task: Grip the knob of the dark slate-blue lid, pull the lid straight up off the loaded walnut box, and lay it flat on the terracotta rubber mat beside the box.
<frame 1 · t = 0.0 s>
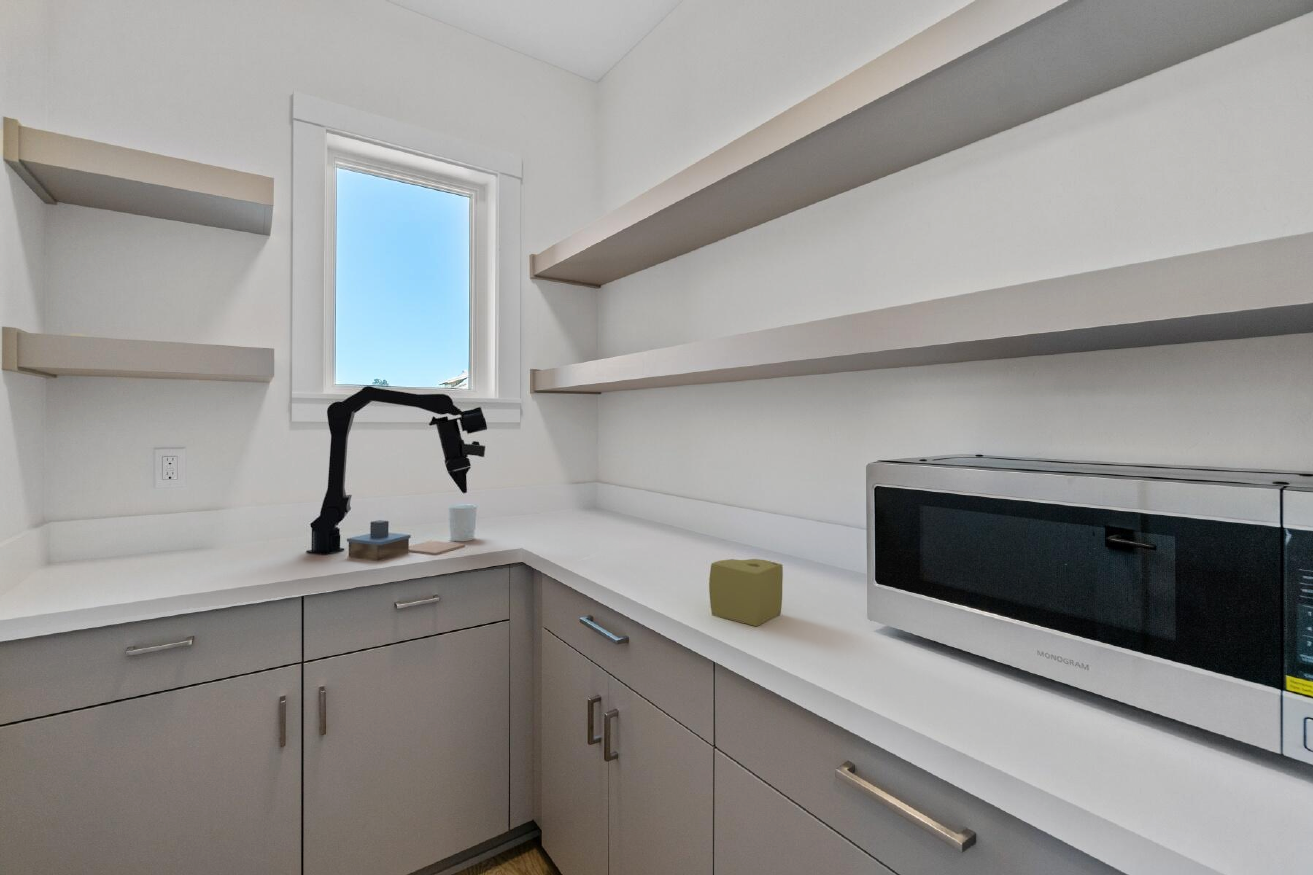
hand: (464, 491, 166), 15 cm above the counter, tool pointing down, fingers open, 9 cm apart
mat: (432, 548, 161), on the counter
white cup: (462, 540, 174), on the counter
lid: (379, 542, 152), point 3 cm above the counter, touching box
cheese: (746, 616, 110), on the counter
box: (379, 554, 152), on the counter
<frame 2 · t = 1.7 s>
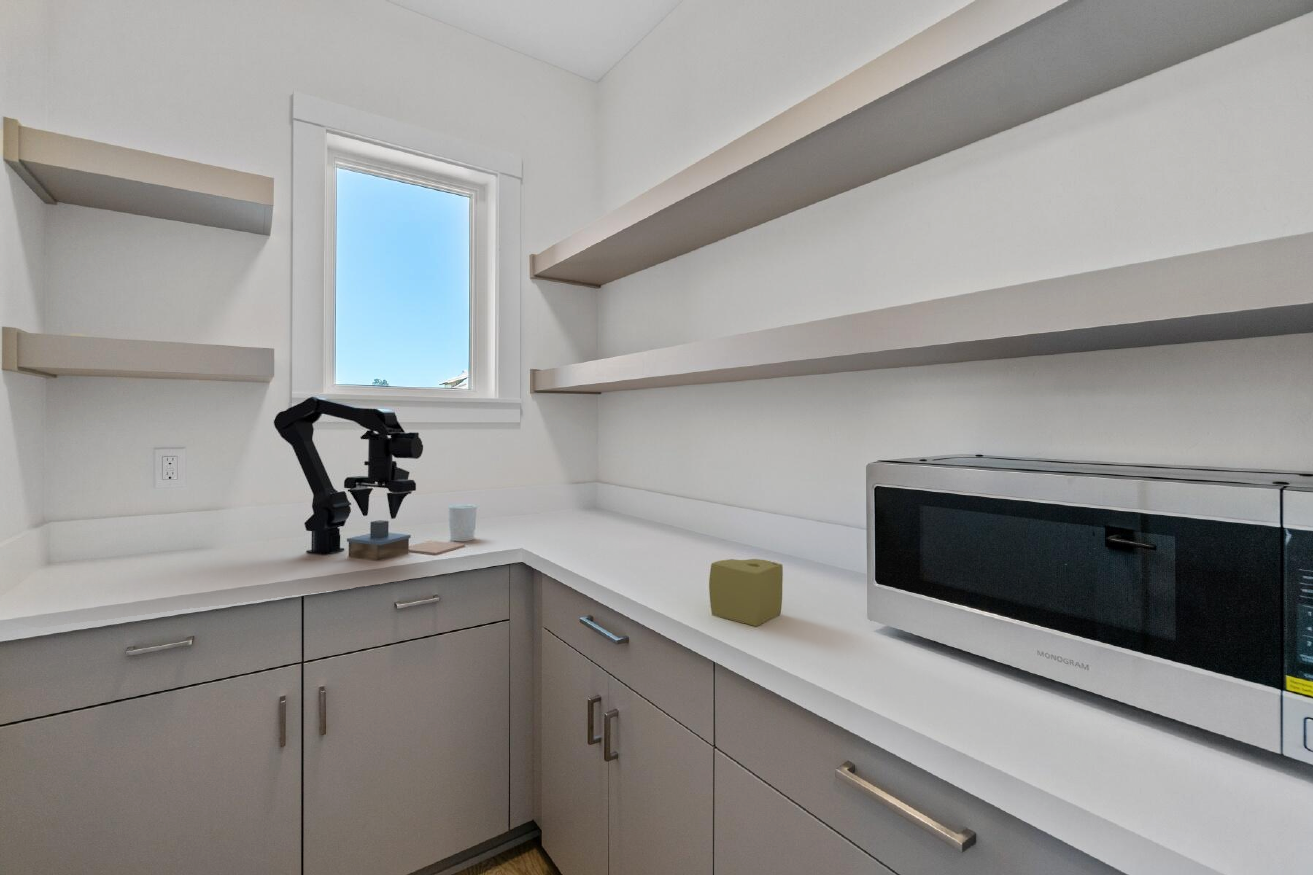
hand: (379, 517, 151), 10 cm above the counter, tool pointing down, fingers open, 9 cm apart
nothing on the counter moved.
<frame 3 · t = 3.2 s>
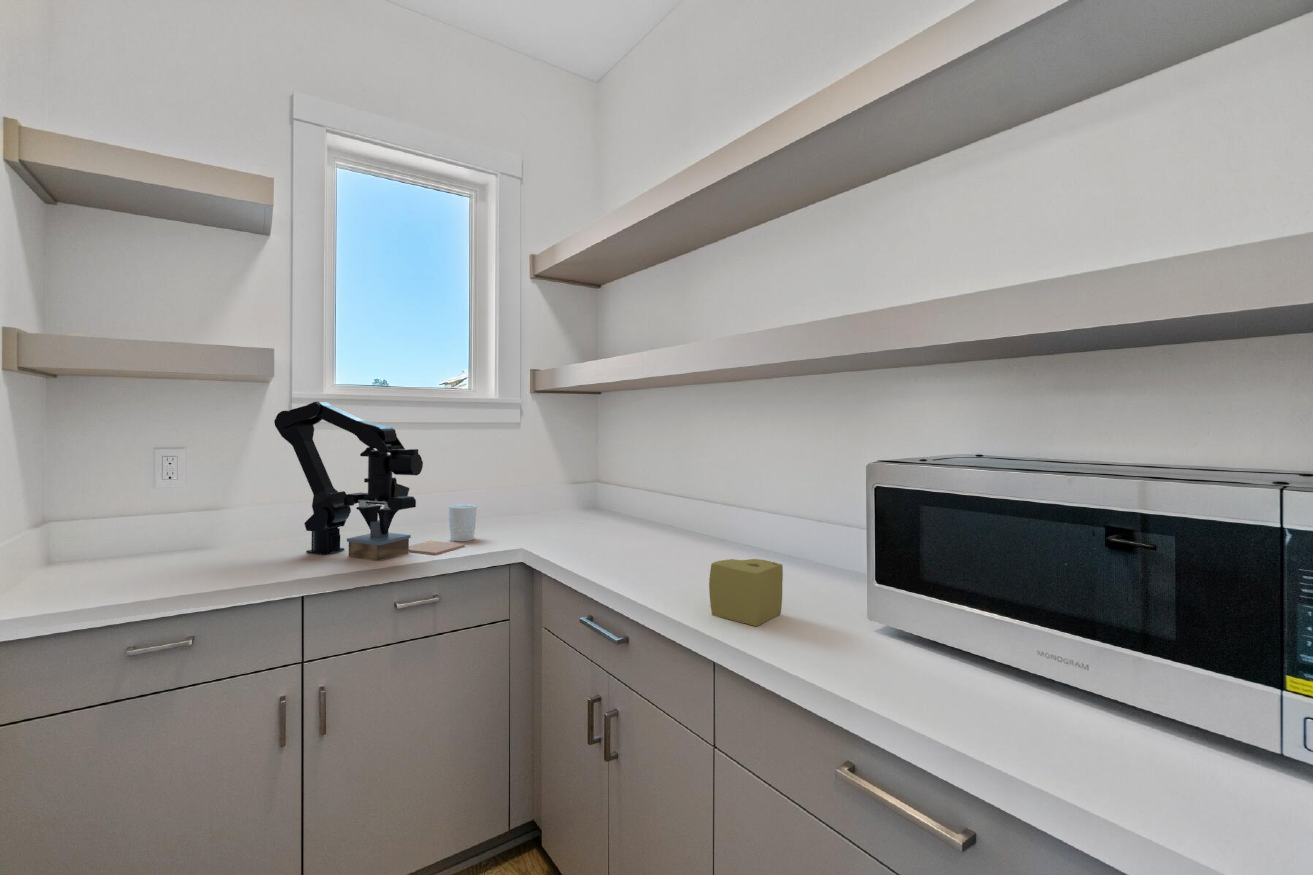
hand: (379, 533, 152), 6 cm above the counter, tool pointing down, fingers closed on lid, 3 cm apart
lid: (379, 542, 152), point 3 cm above the counter, touching box, gripper
everything else where it was.
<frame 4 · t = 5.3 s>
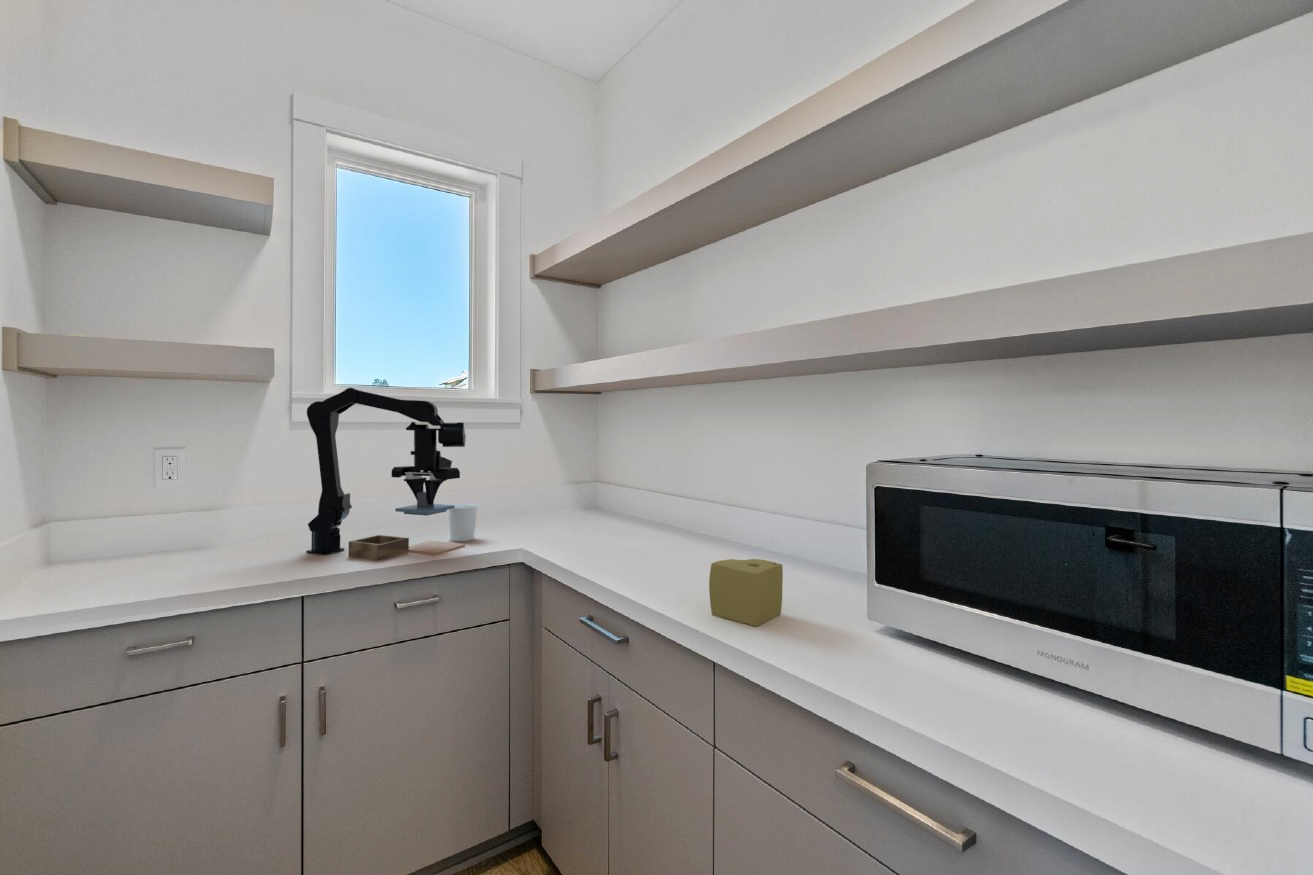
hand: (425, 504, 159), 12 cm above the counter, tool pointing down, fingers closed on lid, 3 cm apart
lid: (425, 512, 159), point 10 cm above the counter, touching gripper
everything else where it was.
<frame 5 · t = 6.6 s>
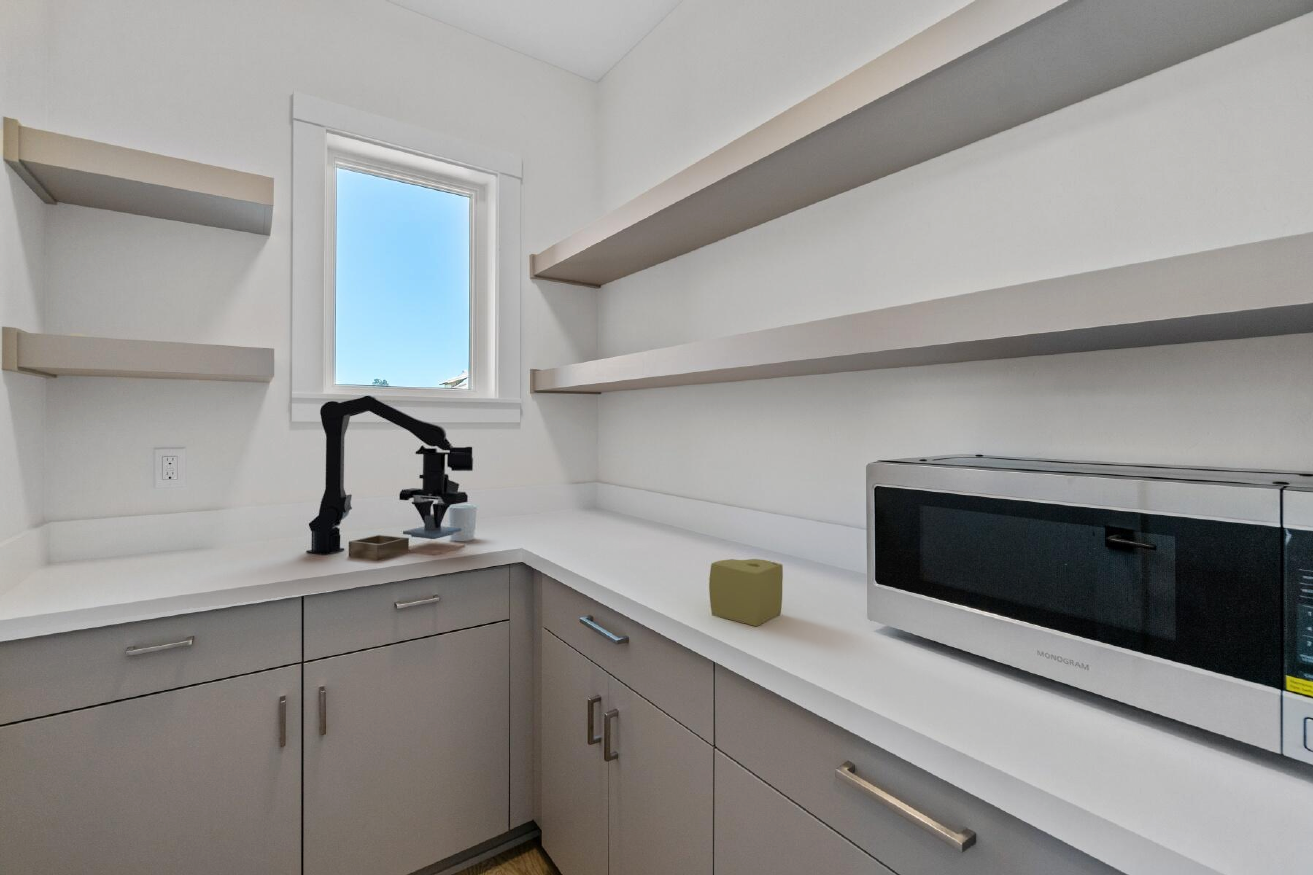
hand: (432, 527, 161), 6 cm above the counter, tool pointing down, fingers closed on lid, 3 cm apart
lid: (432, 535, 161), point 4 cm above the counter, touching gripper
everything else where it was.
when the fingers open (4 cm above the counter, at t = 7.6 s): lid drops 1 cm, resting on mat.
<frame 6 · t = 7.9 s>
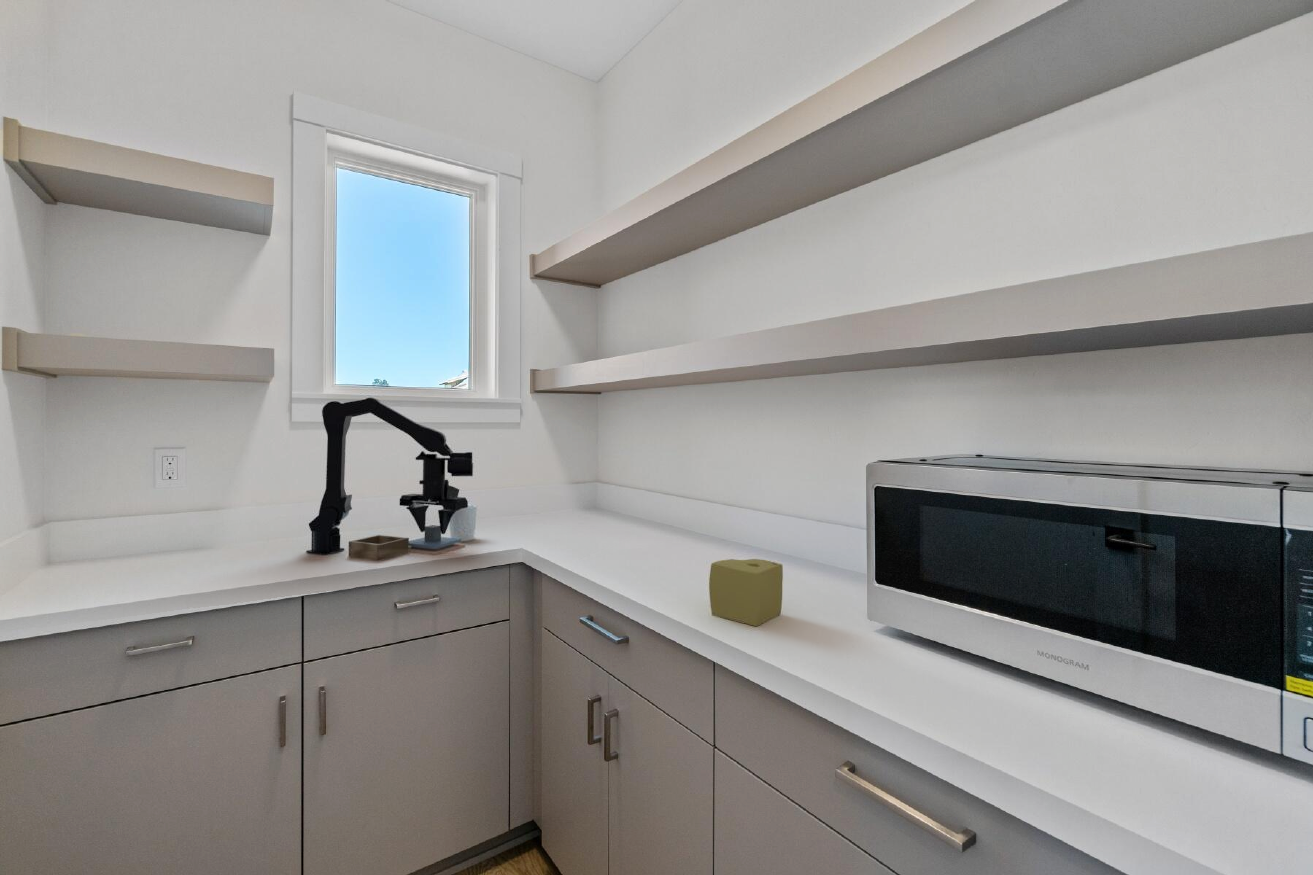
hand: (432, 532, 161), 4 cm above the counter, tool pointing down, fingers open, 7 cm apart
lid: (432, 546, 161), point 1 cm above the counter, touching mat
everything else where it was.
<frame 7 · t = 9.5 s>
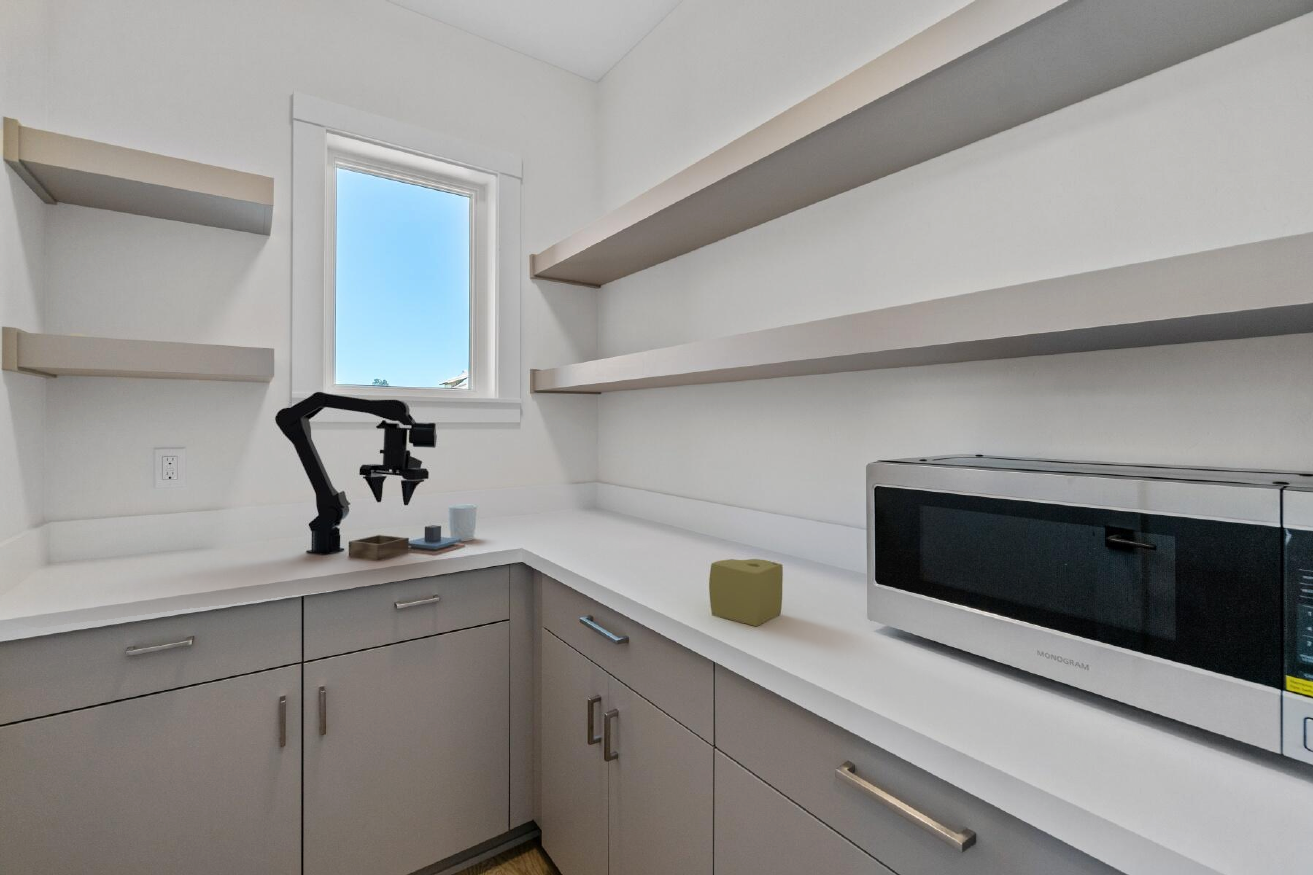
hand: (392, 503, 158), 13 cm above the counter, tool pointing down, fingers open, 9 cm apart
nothing on the counter moved.
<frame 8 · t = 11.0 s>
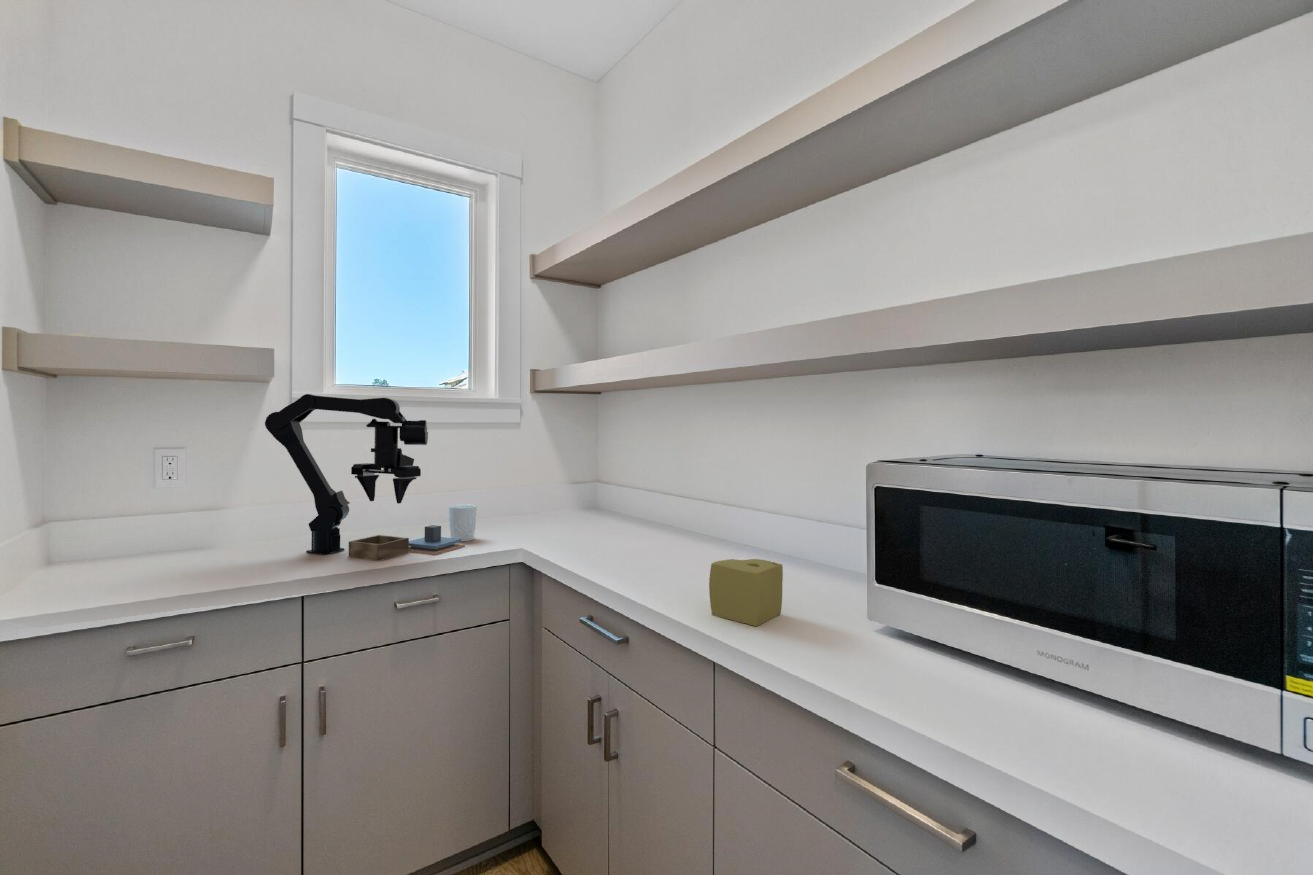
hand: (385, 502, 157), 13 cm above the counter, tool pointing down, fingers open, 9 cm apart
nothing on the counter moved.
at the end: lid inside the target area on the mat (0.1 cm from its centre), point 0.6 cm above the mat's base; lid tilted 0°; the gripper is holding nothing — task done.
